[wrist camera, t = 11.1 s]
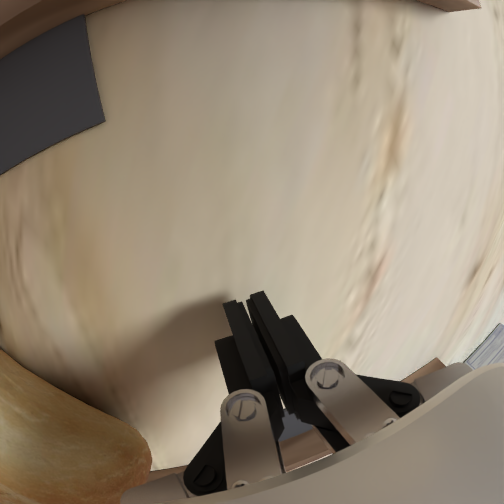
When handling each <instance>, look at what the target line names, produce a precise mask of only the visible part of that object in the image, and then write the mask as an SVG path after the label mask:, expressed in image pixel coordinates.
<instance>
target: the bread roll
mask: <svg viewBox="0 0 504 504" xmlns="http://www.w3.org/2000/svg"><path fill="white" fill-rule="evenodd" d="M151 464H152V457H151V451H150V449H149V446H148V444H147V442H146V440H145V439H144V438H143V437H142V436H141V434H140V433H139V432H138V431H137V429H135V428H133V427H131V426H130V425H128V424H127V423H125V422H123V421H121V420H119V419H117V418H115V417H113V416H110V415H108V414H106V413H104V412H102V411H100V410H98V409H96V408H93V407H91V406H89V405H87V404H85V403H84V402H82V401H80V400H78V399H76V398H74V397H72V396H71V395H69V394H67V393H65V392H63V391H61V390H60V389H58V388H56V387H54V386H53V385H51V384H49V383H48V382H46V381H44V380H43V379H41V378H39V377H38V376H36V375H35V374H33V373H32V372H30V371H28V370H27V369H25V368H23V367H22V366H21V365H20V364H18V363H17V362H16V361H15V360H13V359H12V358H11V357H10V356H9V355H7V354H6V353H5V352H4V351H2V350H1V349H0V504H120V499H121V496H122V494H123V493H124V492H125V491H126V490H128V489H130V488H133V487H136V486H139V485H142V484H145V483H146V482H147V479H148V476H149V473H150V469H151Z"/></svg>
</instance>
